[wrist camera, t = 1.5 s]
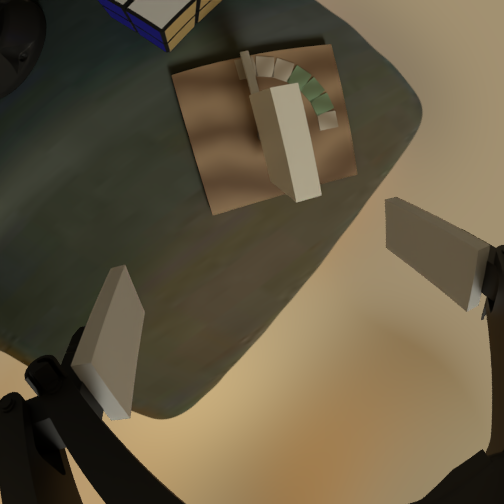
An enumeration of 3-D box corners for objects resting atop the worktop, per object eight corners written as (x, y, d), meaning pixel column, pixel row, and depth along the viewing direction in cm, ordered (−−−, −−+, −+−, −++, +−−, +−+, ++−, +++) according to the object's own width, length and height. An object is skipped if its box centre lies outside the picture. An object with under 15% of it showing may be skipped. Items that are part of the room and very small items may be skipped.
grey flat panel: (232, 55, 31) (253, 27, 20) (252, 51, 31) (282, 23, 20) (263, 176, 38) (296, 202, 27) (282, 171, 38) (321, 195, 27)
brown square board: (172, 76, 32) (171, 74, 30) (326, 46, 33) (331, 44, 32) (211, 212, 40) (213, 216, 38) (352, 172, 41) (357, 174, 40)
